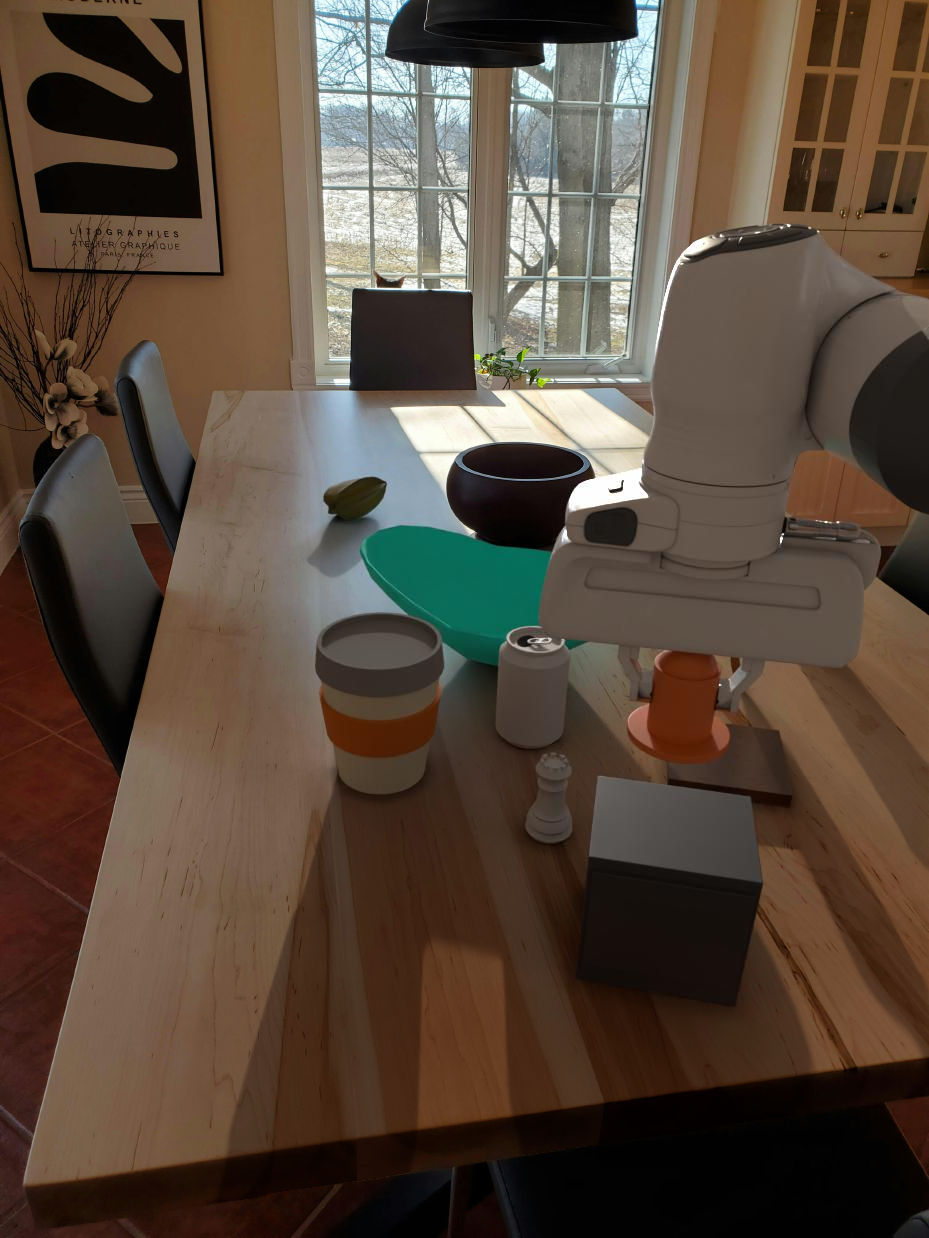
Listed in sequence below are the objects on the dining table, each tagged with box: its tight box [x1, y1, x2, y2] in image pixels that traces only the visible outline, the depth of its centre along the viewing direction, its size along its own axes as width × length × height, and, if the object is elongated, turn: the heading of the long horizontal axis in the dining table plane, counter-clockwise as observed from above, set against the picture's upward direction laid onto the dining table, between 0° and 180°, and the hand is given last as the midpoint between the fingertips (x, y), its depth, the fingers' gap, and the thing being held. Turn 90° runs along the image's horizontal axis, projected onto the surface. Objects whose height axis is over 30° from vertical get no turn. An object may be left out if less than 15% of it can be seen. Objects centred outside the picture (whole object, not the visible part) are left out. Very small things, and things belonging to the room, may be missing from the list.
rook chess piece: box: [524, 752, 573, 845], centre depth 83 cm, size 4×4×8 cm
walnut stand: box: [666, 723, 794, 808], centre depth 95 cm, size 12×12×2 cm
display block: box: [574, 775, 764, 1007], centre depth 70 cm, size 12×10×12 cm
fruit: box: [322, 476, 388, 521], centre depth 161 cm, size 11×12×7 cm
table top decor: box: [358, 524, 588, 667], centre depth 114 cm, size 40×28×13 cm
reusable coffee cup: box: [314, 611, 445, 795], centre depth 90 cm, size 13×13×15 cm
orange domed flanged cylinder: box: [626, 650, 730, 764], centre depth 61 cm, size 7×7×7 cm
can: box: [495, 626, 571, 750], centre depth 97 cm, size 8×8×12 cm
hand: (681, 702), depth 62 cm, fingers closed on orange domed flanged cylinder, 4 cm apart
